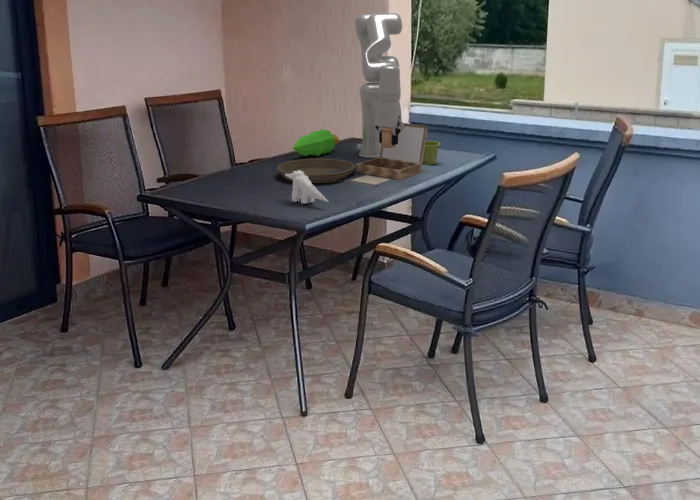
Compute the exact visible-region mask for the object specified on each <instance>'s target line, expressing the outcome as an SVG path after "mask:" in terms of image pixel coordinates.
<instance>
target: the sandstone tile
mask: <svg viewBox="0 0 700 500" xmlns="http://www.w3.org/2000/svg"><path fill="white" fill-rule="evenodd" d="M391 180H392V178H386V177H379V176H373V175H367V174H364V175H363V176H360V177H356V178H353V179H350V184H354V185H355V184H356V185H360V184H361V186H368V187H373V188H377V187H378V184H381V183H385V182H387V181H391Z"/></svg>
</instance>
